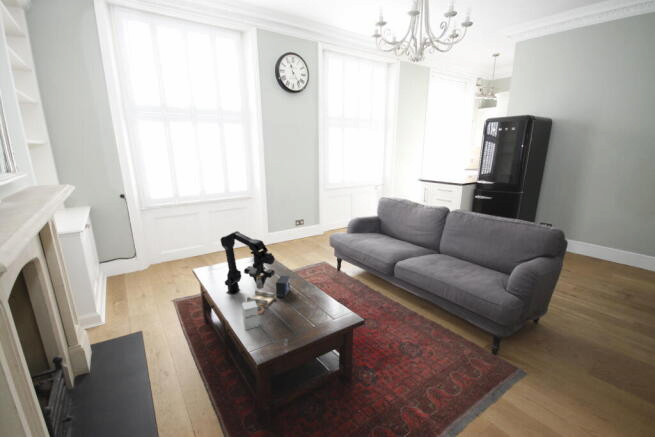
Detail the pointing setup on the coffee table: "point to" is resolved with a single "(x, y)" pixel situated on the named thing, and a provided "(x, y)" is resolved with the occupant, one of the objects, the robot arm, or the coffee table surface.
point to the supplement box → (250, 315)
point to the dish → (260, 310)
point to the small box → (282, 286)
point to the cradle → (262, 298)
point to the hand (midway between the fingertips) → (260, 284)
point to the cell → (259, 282)
